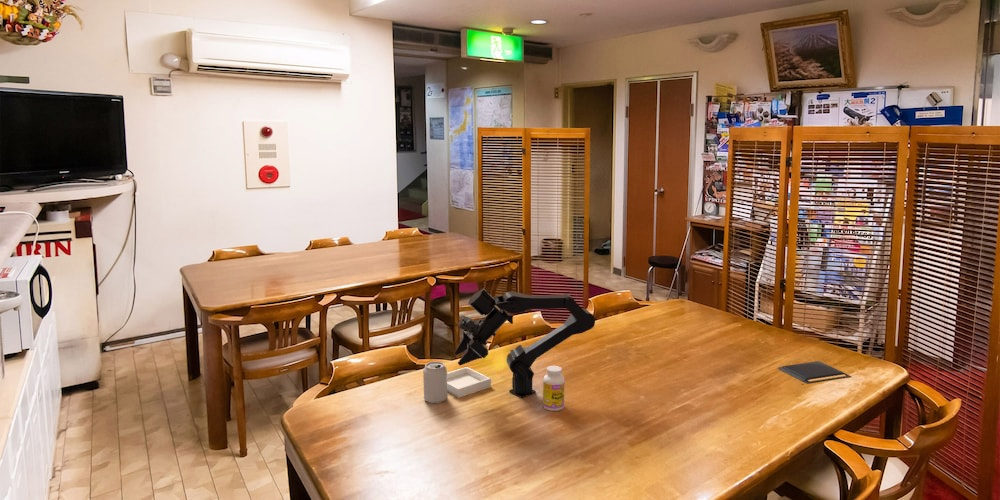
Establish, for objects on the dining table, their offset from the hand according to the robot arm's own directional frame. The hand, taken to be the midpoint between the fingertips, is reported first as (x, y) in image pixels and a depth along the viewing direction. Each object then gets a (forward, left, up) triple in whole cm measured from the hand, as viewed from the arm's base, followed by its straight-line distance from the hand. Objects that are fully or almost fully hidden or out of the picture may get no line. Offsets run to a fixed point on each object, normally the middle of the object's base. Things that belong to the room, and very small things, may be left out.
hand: (457, 359), depth 197 cm
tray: (+7, -7, -13) cm, 16 cm away
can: (+4, +6, -13) cm, 15 cm away
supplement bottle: (-25, -19, -13) cm, 34 cm away
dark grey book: (-64, -110, -14) cm, 128 cm away
